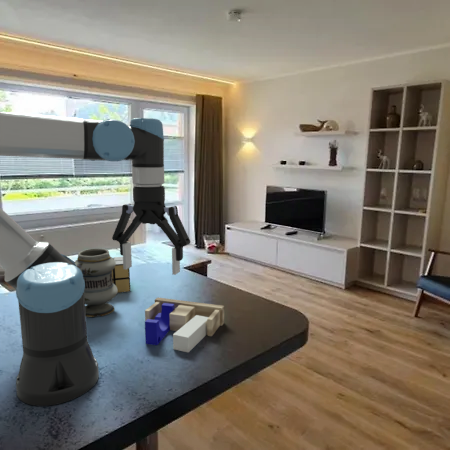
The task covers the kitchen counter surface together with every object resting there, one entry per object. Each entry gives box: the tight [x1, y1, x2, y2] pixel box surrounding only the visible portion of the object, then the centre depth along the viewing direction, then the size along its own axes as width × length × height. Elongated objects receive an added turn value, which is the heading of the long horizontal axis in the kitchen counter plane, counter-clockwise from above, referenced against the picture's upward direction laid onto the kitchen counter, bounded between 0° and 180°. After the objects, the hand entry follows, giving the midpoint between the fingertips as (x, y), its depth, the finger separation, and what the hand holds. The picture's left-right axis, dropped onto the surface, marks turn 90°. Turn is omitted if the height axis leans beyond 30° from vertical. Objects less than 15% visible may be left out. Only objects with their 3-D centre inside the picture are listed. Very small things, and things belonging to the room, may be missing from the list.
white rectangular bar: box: [172, 315, 209, 353], centre depth 94 cm, size 12×4×4 cm, turn 157°
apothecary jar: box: [73, 248, 118, 318], centre depth 110 cm, size 12×12×18 cm
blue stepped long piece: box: [144, 303, 174, 346], centre depth 97 cm, size 12×4×6 cm, turn 167°
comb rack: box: [144, 297, 225, 337], centre depth 102 cm, size 8×20×5 cm, turn 72°
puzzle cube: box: [112, 256, 131, 294], centre depth 129 cm, size 10×10×10 cm
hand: (151, 270), depth 94 cm, fingers open, 13 cm apart
